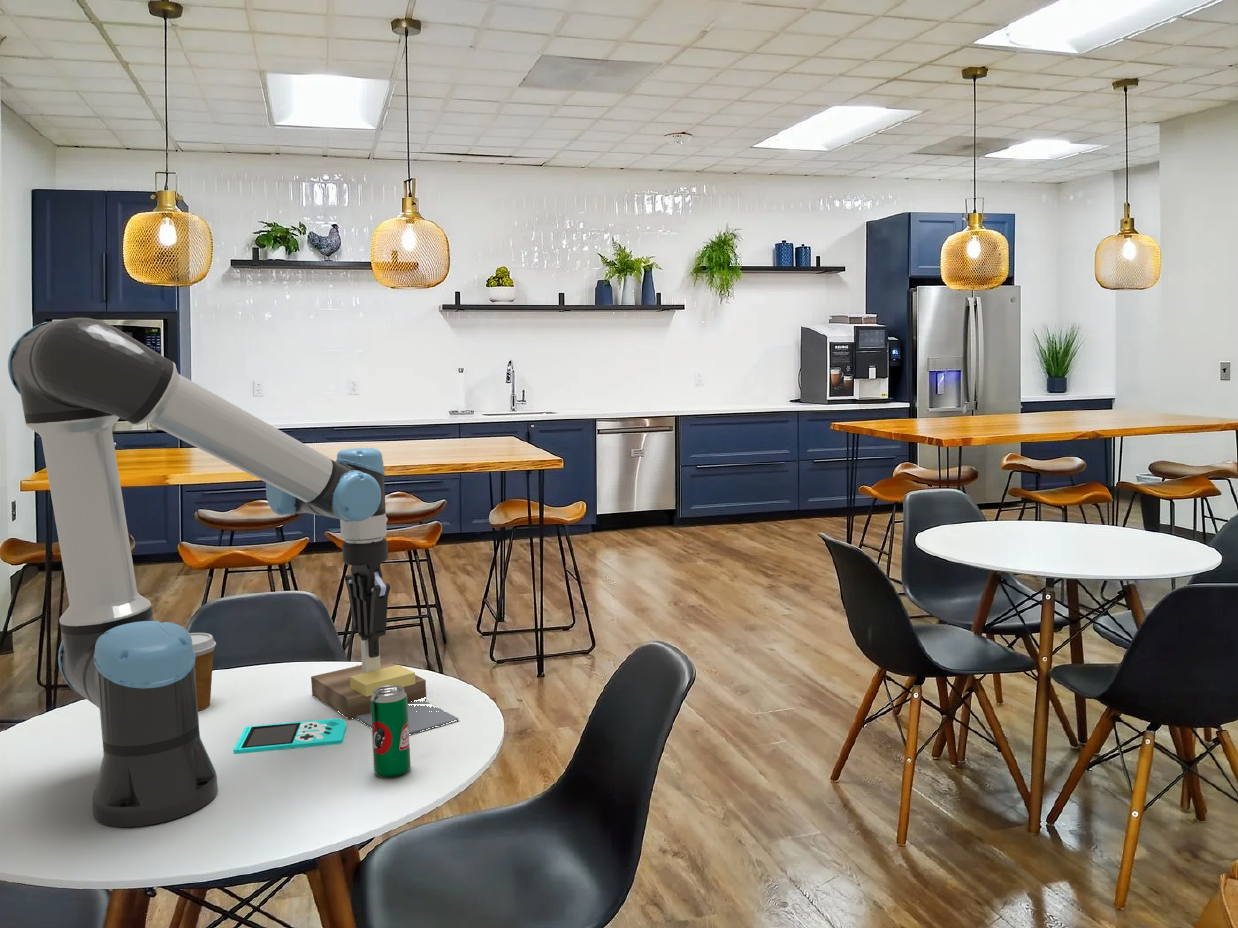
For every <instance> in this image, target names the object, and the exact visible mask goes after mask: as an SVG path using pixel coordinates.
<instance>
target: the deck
mask: <svg viewBox="0 0 1238 928" xmlns="http://www.w3.org/2000/svg"><path fill="white" fill-rule="evenodd" d="M395 665H396V664H394V663H393V662H390V661H388V660H386V659H382V660H381V659H380V666H381V669H383V668H387V667H391V666H395ZM358 674H362V664H361V665H355V666H350V667H347V668H342V669H337V670H334V671H330V672H324V673H320V674H317V675H312V676H310V681H311V696H312V697H313V696H315V697H316V698H318V699H319V700H318V699H317V700H318V701H319V702H321V701H322V702H321V703H323V704H324V703H325V704H324V705H326V704H327V705H328V707H329V706H330V707H331V709H332V708H333V709H332V710H334V711H335V710H336V711H335V712H337V711H339V712H340V713H341V714H343V715H344V716H345V718H346V717H347V718H346V719H348V720H349V719H351V720H353V719H352V718H355V719H356V716H359V715H363V714H367V713H370V712H371V704H370V699H371V697H372V695H371V696H367V697H366V696H364V695H362V694H361V693H359V692H357V691H355V690H353V689H351V687H350V676H354V675H358ZM403 688H404V692H405V693H406V695H407V703H408V702H411V701H414V700H418V699H421V698H424V697H426V698H427V681H426V679H424V678H422V677H420V676H419V675H417V674H415V684H413V685H409V686H406V687H403ZM315 697H314V698H315ZM316 698H315V699H316ZM327 705H326V706H327ZM330 707H329V708H330ZM340 713H339V714H340ZM341 714H340V715H341ZM343 715H342V716H343ZM344 716H343V717H344Z"/></svg>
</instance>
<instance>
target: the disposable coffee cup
mask: <svg viewBox="0 0 1238 928" xmlns="http://www.w3.org/2000/svg"><path fill="white" fill-rule="evenodd" d="M189 633H190V635H191V638H192V644H193V648H194V652H195V656H196V658H195V674H196V688H197V703H198V712H201V711H203V710H206V709H207V708H209V707H210V706H211V697H212V696H211V695H212V683H213V682H212V680H213V679H212V678H213V677H212V676H213V663H214V660H213V659H214V650H215V648H216V647H215V646H216V645H217V641H215V639H214V637H213V635H212V634H211V633H208V632H207V633H206V632H189Z"/></svg>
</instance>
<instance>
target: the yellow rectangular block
mask: <svg viewBox="0 0 1238 928" xmlns="http://www.w3.org/2000/svg"><path fill="white" fill-rule="evenodd" d="M394 665H395V666H391V667H387V668H383V669H379V670H375V671H371V672H367V673H362V674H358V675H354V676H350V687H351V689H353V690H355V691H357V692H359V693H361V694H362V695H364V696H366V697H367V696H371V695H373V691H374V690H375V689H377V688H379V687H383V686H389V685H396V686H401V687H406V686H409V685H413V684H415V675H416V672H415V671H413V670H410V669H408V668H406V667H404V666H402V665H399V664H394Z"/></svg>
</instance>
